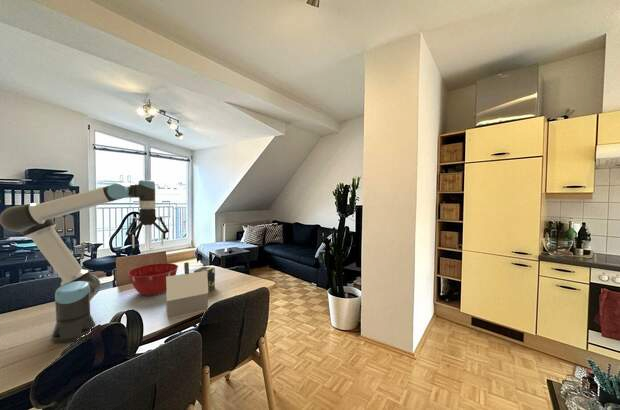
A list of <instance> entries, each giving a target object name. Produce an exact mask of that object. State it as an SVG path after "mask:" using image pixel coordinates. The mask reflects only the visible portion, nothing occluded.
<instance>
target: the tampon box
mask: <svg viewBox="0 0 620 410" xmlns="http://www.w3.org/2000/svg"><path fill="white" fill-rule="evenodd" d="M201 271H207V278H208V293H210V292H211V291H212V290H214V289H215V288H216V287H215V286H216V285H215V284H216V282H215V281H216V268H215V267H210V266H203V267H199V268H198V269H195V270H194V271H193V273H194V272H201Z"/></svg>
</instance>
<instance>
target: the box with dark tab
mask: <svg viewBox="0 0 620 410" xmlns="http://www.w3.org/2000/svg"><path fill="white" fill-rule="evenodd" d="M183 266H184V269H183V271H184V273H182V274H176V275H174V276H167V277H166V288H167V290H166V293H167V301H170V300H175V299H180V298H185V297H190V296H195V295H201V294H206V293H208V294H209V292H208V278H207V271H201V272H194V271H193V272H190V267H189V266H190V263H189V262H184V263H183Z"/></svg>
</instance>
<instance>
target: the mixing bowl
mask: <svg viewBox="0 0 620 410" xmlns="http://www.w3.org/2000/svg"><path fill="white" fill-rule="evenodd" d="M178 268H179V265H177V264H176V263H171V262H170V263H169V262H165V263H164V262H163V263H153V264H152V263H151V264H146V265H141V266H138V267H134V268H132V269H130V270H129V271H128V273H127V276H128V277H129V280H130V282H131V284H132V286H133V287H134V289H135V290H136V292H138V294H140V295H143V296H145V297H146V296H147V297H149V296H158V295H160V294H163V293H166V292H167V288H166V277H167V276H174V275H177V272H178V271H177V270H178Z"/></svg>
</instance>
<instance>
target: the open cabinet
mask: <svg viewBox="0 0 620 410" xmlns="http://www.w3.org/2000/svg"><path fill="white" fill-rule="evenodd" d="M208 299H209V292H208V293H206V294H201V295H195V296H190V297H185V298H180V299H175V300H170V301H167V292H165V300H166V303H165V305H166V309H165V311H166V315H167V320H172V319H175V318H181V317H185V316H189V315H193V314H198V313H201V312H205V310H206V309H207V308H208V309H209V304H208V303H209V302H208Z"/></svg>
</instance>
